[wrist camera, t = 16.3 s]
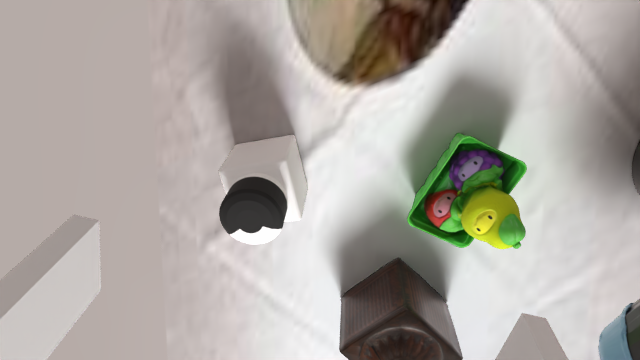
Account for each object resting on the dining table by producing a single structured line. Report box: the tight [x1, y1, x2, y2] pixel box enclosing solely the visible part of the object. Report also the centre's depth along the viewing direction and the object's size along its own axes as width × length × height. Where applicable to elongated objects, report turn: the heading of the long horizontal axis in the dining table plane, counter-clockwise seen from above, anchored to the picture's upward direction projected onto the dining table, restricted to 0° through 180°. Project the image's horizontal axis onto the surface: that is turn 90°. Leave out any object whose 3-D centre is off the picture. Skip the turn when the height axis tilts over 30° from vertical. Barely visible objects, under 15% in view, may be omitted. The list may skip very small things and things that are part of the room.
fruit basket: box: [407, 133, 527, 249], centre depth 44 cm, size 11×9×11 cm
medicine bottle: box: [218, 135, 308, 244], centre depth 45 cm, size 7×7×12 cm
